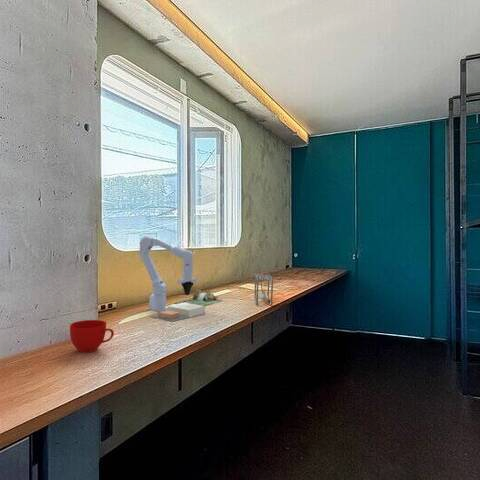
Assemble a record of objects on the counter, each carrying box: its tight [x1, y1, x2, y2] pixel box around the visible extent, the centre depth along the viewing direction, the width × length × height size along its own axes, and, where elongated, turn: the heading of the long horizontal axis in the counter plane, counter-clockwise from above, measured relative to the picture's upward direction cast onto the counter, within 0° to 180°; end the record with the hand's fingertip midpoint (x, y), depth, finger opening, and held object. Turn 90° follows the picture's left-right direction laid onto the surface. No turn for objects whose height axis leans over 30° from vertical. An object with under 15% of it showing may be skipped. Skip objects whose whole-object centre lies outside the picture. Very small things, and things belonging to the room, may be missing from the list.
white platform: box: [166, 303, 206, 318], centre depth 210 cm, size 16×14×4 cm
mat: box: [150, 314, 189, 323], centre depth 198 cm, size 16×12×1 cm
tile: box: [157, 310, 180, 319], centre depth 198 cm, size 9×7×2 cm
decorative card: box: [173, 288, 224, 307], centre depth 246 cm, size 33×8×20 cm
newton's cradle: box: [253, 273, 274, 306], centre depth 252 cm, size 30×10×18 cm, turn 0°
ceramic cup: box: [69, 319, 115, 353], centre depth 141 cm, size 13×17×10 cm
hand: (187, 294), depth 216 cm, fingers closed
